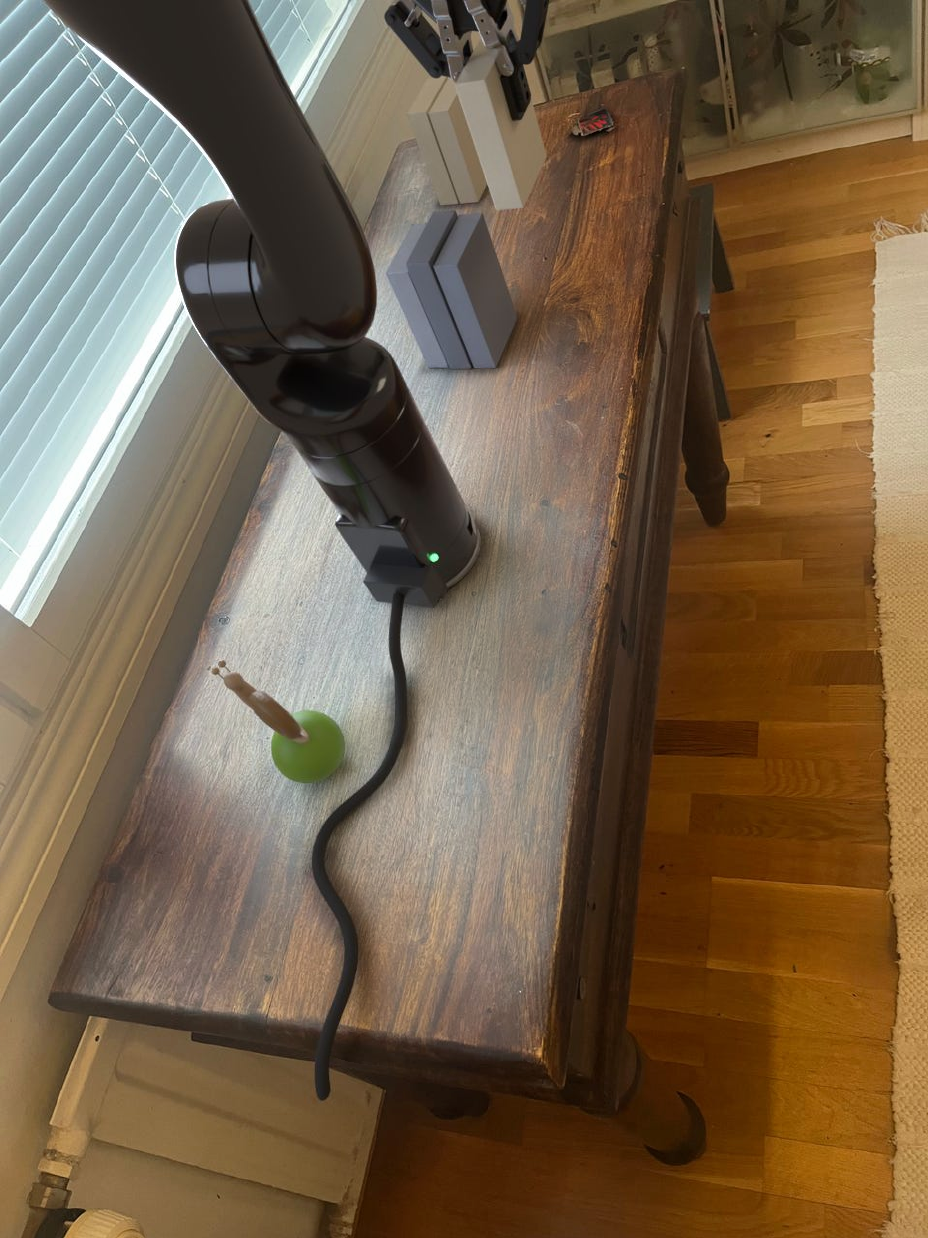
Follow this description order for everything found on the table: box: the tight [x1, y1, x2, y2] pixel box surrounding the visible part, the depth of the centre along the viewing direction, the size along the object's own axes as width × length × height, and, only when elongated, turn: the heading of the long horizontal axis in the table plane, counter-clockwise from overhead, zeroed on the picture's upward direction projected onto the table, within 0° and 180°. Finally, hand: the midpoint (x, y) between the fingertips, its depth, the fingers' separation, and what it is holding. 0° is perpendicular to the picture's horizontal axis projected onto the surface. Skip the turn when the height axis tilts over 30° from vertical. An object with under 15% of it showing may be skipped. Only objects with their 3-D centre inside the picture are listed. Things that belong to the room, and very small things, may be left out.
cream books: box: [406, 76, 488, 207], centre depth 106 cm, size 7×5×11 cm
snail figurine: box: [211, 659, 346, 785], centre depth 67 cm, size 5×6×12 cm
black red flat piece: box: [571, 108, 618, 137], centre depth 108 cm, size 5×5×1 cm
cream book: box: [455, 36, 548, 211], centre depth 76 cm, size 7×3×11 cm, turn 160°
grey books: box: [385, 209, 518, 370], centre depth 89 cm, size 7×8×12 cm
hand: (502, 115), depth 76 cm, fingers closed on cream book, 2 cm apart
